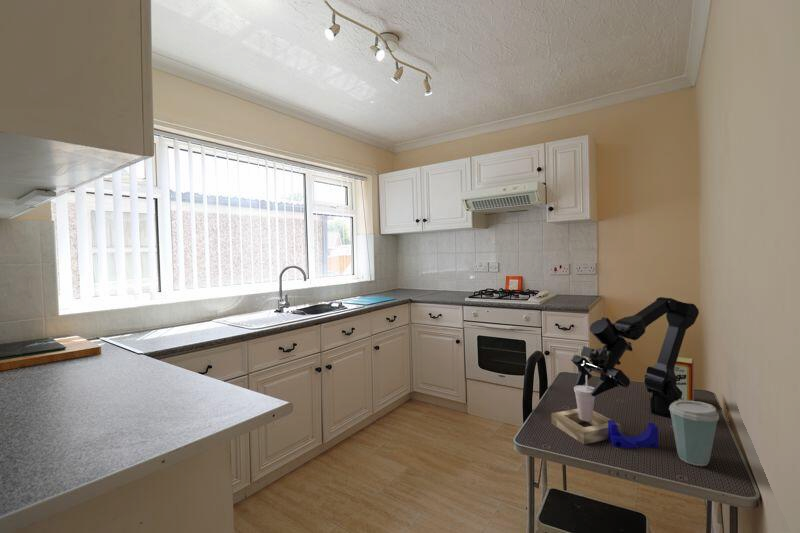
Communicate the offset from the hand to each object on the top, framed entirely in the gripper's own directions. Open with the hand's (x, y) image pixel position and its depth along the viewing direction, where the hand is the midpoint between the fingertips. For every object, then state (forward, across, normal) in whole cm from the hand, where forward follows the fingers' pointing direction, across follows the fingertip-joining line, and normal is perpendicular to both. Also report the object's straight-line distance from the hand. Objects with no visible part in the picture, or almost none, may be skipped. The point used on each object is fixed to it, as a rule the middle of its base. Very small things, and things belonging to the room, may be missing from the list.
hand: (584, 391), depth 119 cm
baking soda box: (-24, -6, +43) cm, 50 cm away
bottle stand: (+9, 0, +9) cm, 12 cm away
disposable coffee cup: (-1, +23, +19) cm, 30 cm away
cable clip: (+5, +12, +13) cm, 19 cm away
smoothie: (+6, 0, +6) cm, 9 cm away
